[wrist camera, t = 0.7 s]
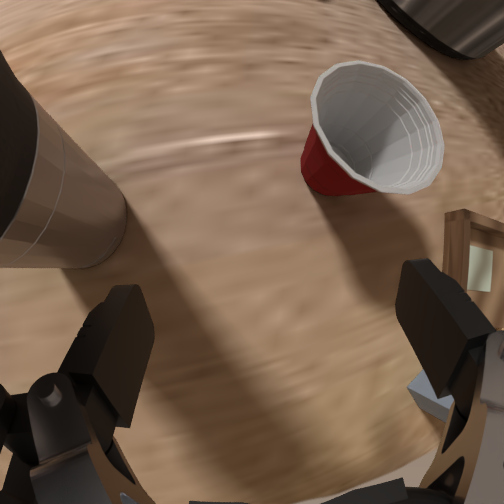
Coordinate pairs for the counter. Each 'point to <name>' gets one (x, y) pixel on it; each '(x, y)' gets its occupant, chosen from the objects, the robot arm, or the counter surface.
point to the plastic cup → (370, 133)
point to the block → (429, 397)
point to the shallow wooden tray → (477, 260)
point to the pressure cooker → (453, 24)
